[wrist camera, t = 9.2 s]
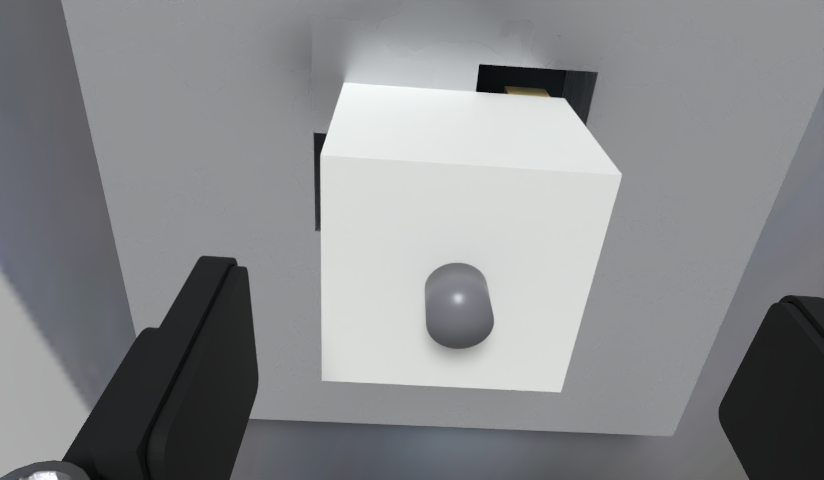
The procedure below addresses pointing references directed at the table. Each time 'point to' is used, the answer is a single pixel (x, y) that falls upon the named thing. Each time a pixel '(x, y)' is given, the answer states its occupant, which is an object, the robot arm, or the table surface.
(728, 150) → the socket
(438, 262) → the plug
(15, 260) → the table surface
